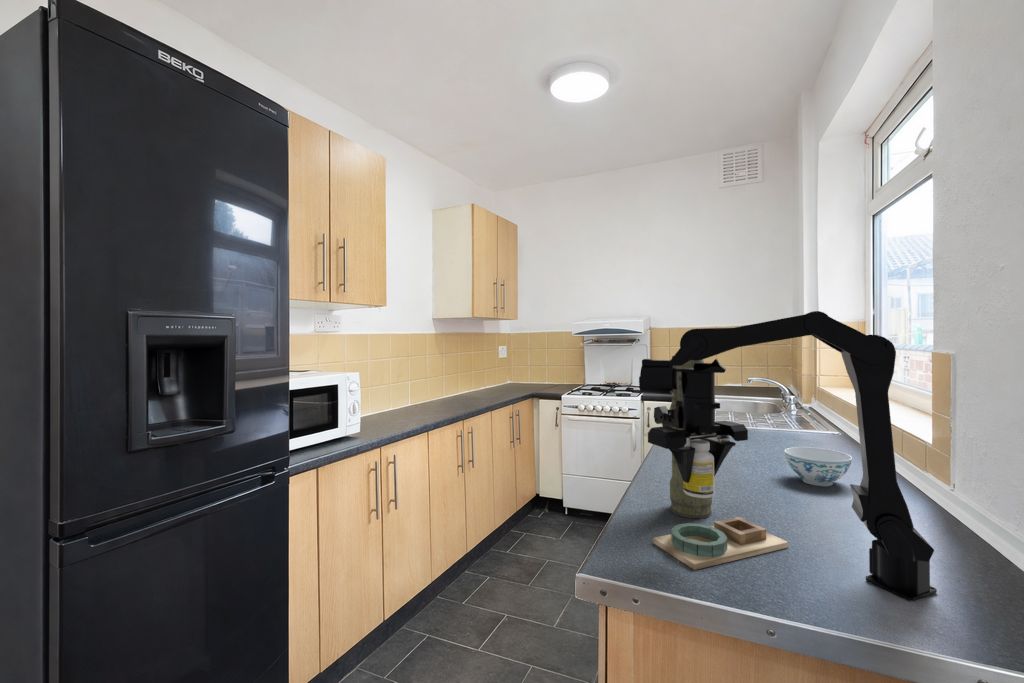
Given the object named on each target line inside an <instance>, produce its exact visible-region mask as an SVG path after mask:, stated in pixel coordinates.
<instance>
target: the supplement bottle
mask: <svg viewBox="0 0 1024 683" xmlns="http://www.w3.org/2000/svg"><path fill="white" fill-rule="evenodd" d="M690 447H693V448H695V454H694V460H693V466H692V472H691V477H690V480H689V483H686V482H684V481H683V491H684V493H685V494H687V495H689V496H692V497H697V498H710V497H712V498H713V497H714V496H715V492H716V491H715V488H716V487H715V486H716V484H715V477H714V456H713V455H712V454H711V453H709V452H708V451H709V450H710V442H709V441H707V440H702V439H694V440H690Z"/></svg>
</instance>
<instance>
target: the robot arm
mask: <svg viewBox="0 0 1024 683" xmlns="http://www.w3.org/2000/svg"><path fill="white" fill-rule="evenodd" d="M807 336H812V337H813V338H815V339H817V340H819V341H820V342H822V343H823V344H825V345H827V346H829V347H830V348H832V349H833V350H835V351H837V352H839V353H840V354H841V356H842V360H843V363H844V366H845V370H846V374H847V375H848V377H849V380H850V382H851V384H852V387H853V390H854V393H855V396H854V397H855V405H856V413H857V414H856V416H857V424H858V427H857V428H858V435H859V444H860V456H861V466H862V467H861V468H862V478H861V481H860V483H859V484H860V485H858V484H854V483H853V484H852V483H851V484H850V485H849V486H850V490H851V493H852V496H853V497H852V498H853V499H852V503H851V508H852V510H853V511H854V513H855V515H856V516H857V517H858V518H859V520H860V522H862V523H863V524H864V525H865V527H866V529H867V530H868V532H869V533H870V535H872V536H873V537H874V538H875V539H873V540H872V541H871V547H870V548H869V549H868V561H869V562H868V564H869V565H868V567H869V568H868V569H869V574H870V575H866V576H865V581H867V582H869V583H871V584H873V585H876V586H878V587H879V588H882V589H885V590H887V591H888V592H891V593H892V594H894V595H898V596H900V597H901V598H904V599H907V600H908V601H916V600H919V599H922V598H925V597H927V596H930V595H933V594H936V593H937V592H938V589H937V588H936V587H934V586H931V570H930V569H931V562H930V561H931V558H932V557H933V555H934V553H935V549H934V548H933V546H931V544H930V543H929V542H928V541H927V540H926V538H924V536H922V535H921V533H920V532H919V531H917V529H916V528H915V527H914V524H913V520H912V518H911V513H910V510H909V507H908V504H907V502H906V500H905V497H904V495H903V493H902V491H901V488H900V486H899V483H898V480H897V479H898V478H897V470H896V469H897V468H896V458H895V448H894V439H893V430H892V429H893V428H892V421H891V418H892V417H891V409H890V399H889V389H890V387H891V383H892V380H893V377H894V374H895V365H896V358H897V351H896V347H895V345H894V343H893V342H891V340H888V338H886V337H884V336H881V335H878V334H866V333H863V332H861V331H859V330H857V329H855V328H853V327H851V326H849V325H848V324H845V323H842V322H841V321H839V320H836V319H834V318H833V317H831V316H829V315H828V314H827V313H826V312H823V311H819V310H813V311H810V312H806V313H804V314H800V315H796V316H790V317H785V318H784V317H783V318H779V319H778V318H777V319H773V320H769V321H762V322H758V323H752V324H747V325H746V324H745V325H742V326H736V327H710V328H709V327H708V328H707V327H704V328H691V329H689V330H687V331H685V332H684V333H683V335H682V336H681V338H680V340H679V349H678V350H677V351H676V353H675V354H674V355H672V356H671V359H669V360H667V359H653V358H643V359H642V360H641V367H640V372H639V373H640V375H639V377H638V386H639V392H640V394H642V395H644V394H645V395H660V396H661V395H663V396H664V395H665V396H673V389H674V390H678V386H679V372H681V374H682V400H677V402H676V409H671V410H669V409H668V408H667V406H665V405H663V406H656V407H654V409H653V420H654V423H656V424H657V425H661V426H656V427H655V426H654V427H651V428H650V429H649V430H648V432H647V443H649V444H652V445H654V446H658V447H661V448H663V449H667V450H669V451H670V452H671V455H672V454H673V456H674V458H675V460H676V463H677V465H678V468H679V471H680V473H681V476H682V479H683V481H684V482H686V483H689V480H690V477H691V472H692V466H693V460H694V454H695V448H693V447H690V440H694V439H702V440H707V441H709V442H710V450H709V451H708V452H709V453H711V454H712V455H713V456H714V478H715V477H716V474H717V473H718V471H719V470H720V468H721V466H722V464H723V462H724V460H725V459H726V458H727V456H728V455H729V452H730V451H731V450H732V448H733V447H736V442H742V441H748V440H749V435H748V434H749V432H748V431H749V430H748V429H747V427H746V426H745V424H743V423H739V422H734V421H730V420H718V421H716V409H717V410H718V409H721V403H720V402H716V391H715V390H716V388H715V387H716V384H715V378H716V377H715V374H717V373H719V374H721V373H726V370H727V369H726V367H725V366H723V365H722V364H721V363H720V362H719V360H718V359H717V358H714V360H713V361H712V362H704V363H694V368H676V366H681V365H683V364H685V363H687V362H688V361H690V360H702V359H703V360H705V359H708V358H711V357H714V356H717V355H719V354H720V355H721V354H722V353H725V352H728V351H731V350H734V349H737V348H741V347H748V346H755V345H759V344H765V343H771V342H777V341H784V340H790V339H795V338H802V337H807ZM671 427H675V428H681V429H682V430H678V429H675V428H671ZM702 433H704V434H702ZM691 434H695V435H691ZM730 437H731V438H732V440H734V441H735V442H733V441H731V439H730Z"/></svg>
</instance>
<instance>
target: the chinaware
mask: <svg viewBox="0 0 1024 683" xmlns="http://www.w3.org/2000/svg"><path fill="white" fill-rule="evenodd" d="M784 456H785V459H786V462H787V464H788V466H789V467H790V468H791V470H792V471H793V472H794V473H796V474H797V475H798V476H799V477H800V478H802V481H803V483H804V484H805V483H806V484H809V485H813V486H817V487H830V486H833V484H834V482H836V481H838V480H840V479H842V478H843V477H844V476H845V475H846V474H847V473H848V472H849V470H850V467H851V465H852V460H853V457H852V456H851V455H850V454H848V453H845V452H842V451H838V450H833V449H828V448H822V447H814V446H813V447H811V446H809V447H808V446H795V447H794V446H793V447H788V448H785V449H784Z"/></svg>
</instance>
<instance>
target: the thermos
mask: <svg viewBox="0 0 1024 683" xmlns="http://www.w3.org/2000/svg"><path fill="white" fill-rule="evenodd" d="M694 363H705V361H704V359H702V360H690V361H688V362H687V363H685V364H683V365H681V366H676V368H694ZM677 400H682V374H681V372H679V386H678V390H674V389H673V392H672V397H671V404H670V407H669V409H668V410H671V409H676V402H677ZM671 428H675V427H671ZM675 429H678V430H682V429H681V428H675ZM702 434H704V433H702ZM691 435H695V434H691ZM669 499H670V511H671V510H672V511H671V512H672V513H674V514H675V515H676V516H679V515H680V517H682V516H683V518H687V519H694V518H702V519H705V518H706V517H707V518H709V517H711V515H712V503H713V496H712V497H710V498H697V497H692V496H689V495H687V494H685V493H684V491H683V479H682V476H681V473H680V471H679V468H678V465H677V463H676V460H675V458H674V456H673V454H672V453H671V477H670V480H669Z"/></svg>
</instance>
